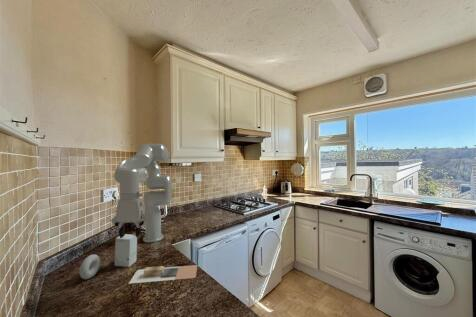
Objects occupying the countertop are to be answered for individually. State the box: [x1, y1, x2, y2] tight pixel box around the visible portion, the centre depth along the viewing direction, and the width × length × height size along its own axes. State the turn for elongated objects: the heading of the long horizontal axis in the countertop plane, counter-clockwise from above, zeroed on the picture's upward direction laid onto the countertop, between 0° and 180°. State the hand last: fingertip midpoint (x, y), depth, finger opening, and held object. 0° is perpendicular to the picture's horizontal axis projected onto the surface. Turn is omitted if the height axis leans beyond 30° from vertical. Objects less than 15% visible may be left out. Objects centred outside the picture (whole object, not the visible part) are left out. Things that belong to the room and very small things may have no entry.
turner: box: [144, 265, 178, 278], centre depth 88 cm, size 14×6×3 cm, turn 97°
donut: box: [79, 254, 101, 280], centre depth 88 cm, size 10×4×10 cm, turn 178°
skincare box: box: [114, 233, 138, 268], centre depth 97 cm, size 8×6×15 cm
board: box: [128, 264, 198, 285], centre depth 88 cm, size 10×28×1 cm, turn 97°
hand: (130, 235), depth 86 cm, fingers open, 5 cm apart
